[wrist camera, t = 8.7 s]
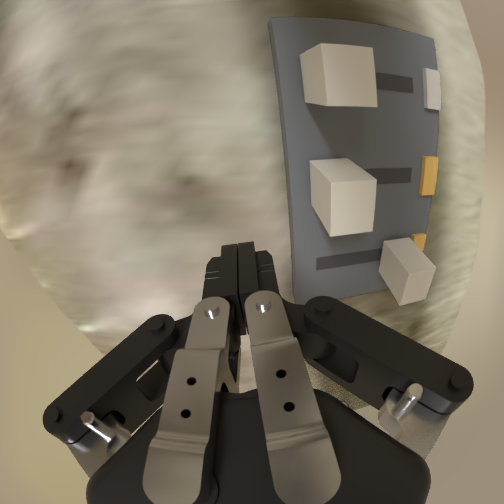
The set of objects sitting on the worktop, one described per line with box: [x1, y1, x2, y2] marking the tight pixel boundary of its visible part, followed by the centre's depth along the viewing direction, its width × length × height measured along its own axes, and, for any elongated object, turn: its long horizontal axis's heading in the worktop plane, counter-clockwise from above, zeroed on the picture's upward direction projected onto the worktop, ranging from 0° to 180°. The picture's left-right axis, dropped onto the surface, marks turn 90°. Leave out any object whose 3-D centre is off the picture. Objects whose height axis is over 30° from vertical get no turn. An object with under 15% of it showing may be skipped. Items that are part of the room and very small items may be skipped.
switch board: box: [268, 17, 441, 305], centre depth 21 cm, size 26×14×2 cm, turn 7°
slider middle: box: [310, 158, 377, 237], centre depth 18 cm, size 4×3×5 cm
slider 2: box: [379, 237, 436, 306], centre depth 22 cm, size 4×3×5 cm
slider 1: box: [300, 43, 377, 107], centre depth 13 cm, size 4×3×5 cm
